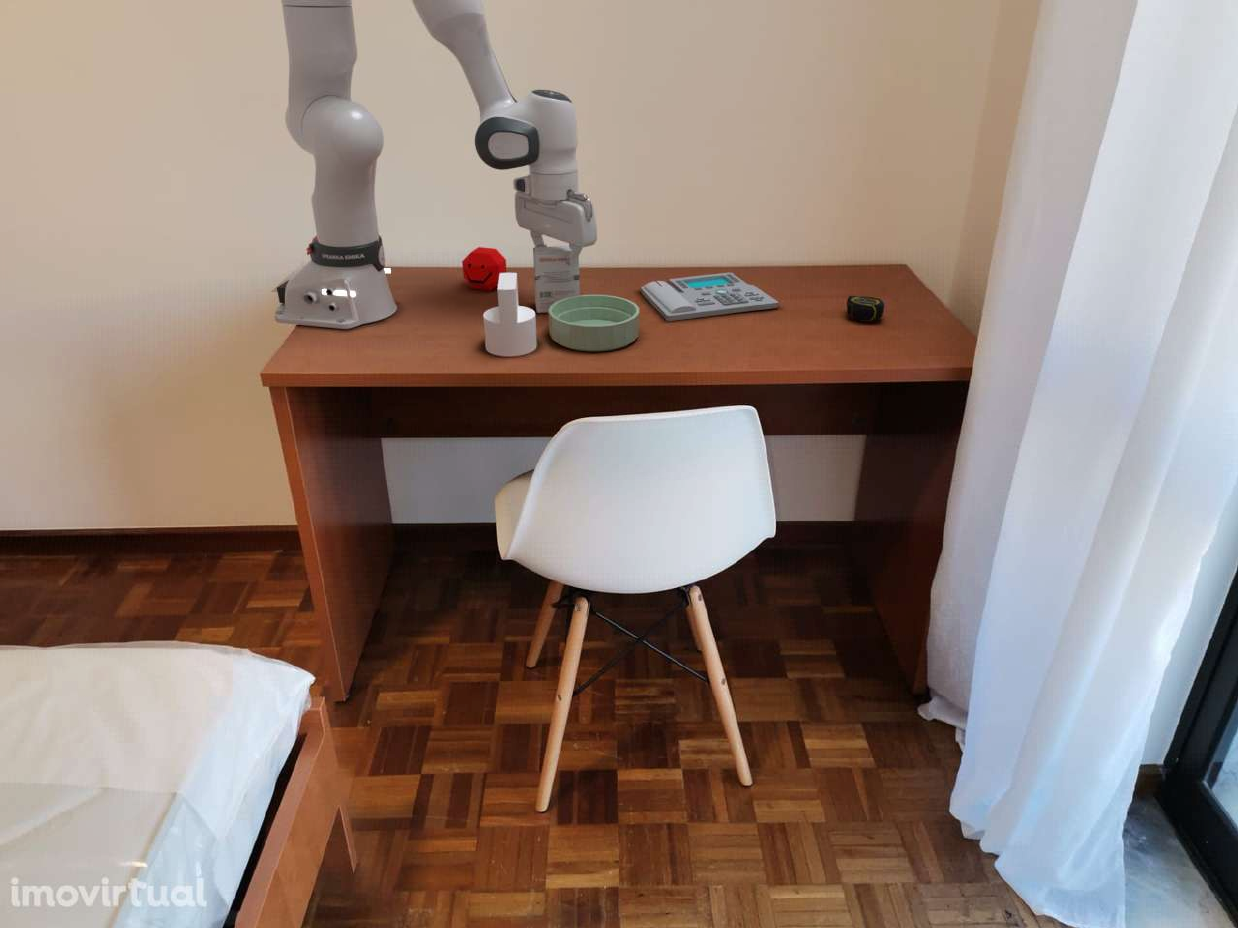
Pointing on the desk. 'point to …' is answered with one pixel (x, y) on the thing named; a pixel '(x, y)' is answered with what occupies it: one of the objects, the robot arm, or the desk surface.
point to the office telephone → (705, 296)
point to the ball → (483, 268)
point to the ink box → (553, 276)
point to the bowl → (594, 322)
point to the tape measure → (865, 308)
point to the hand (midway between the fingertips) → (556, 259)
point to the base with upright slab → (509, 322)
